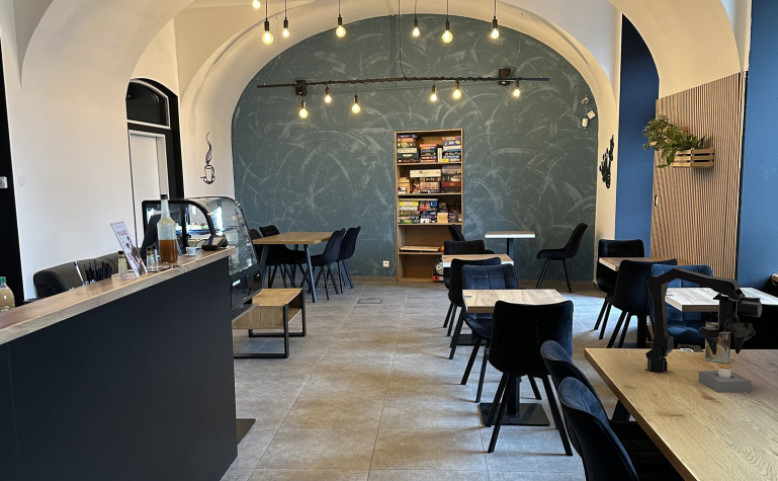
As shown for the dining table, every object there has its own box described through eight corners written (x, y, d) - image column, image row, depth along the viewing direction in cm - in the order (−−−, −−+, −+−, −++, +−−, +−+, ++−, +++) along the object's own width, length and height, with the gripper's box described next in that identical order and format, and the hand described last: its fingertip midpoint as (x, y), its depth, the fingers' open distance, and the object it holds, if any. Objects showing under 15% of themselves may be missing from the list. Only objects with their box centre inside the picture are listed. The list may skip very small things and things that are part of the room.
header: (718, 395, 201) (718, 381, 201) (698, 383, 213) (699, 371, 213) (750, 394, 202) (751, 380, 201) (729, 383, 213) (729, 370, 213)
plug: (722, 388, 205) (723, 366, 204) (715, 384, 209) (716, 363, 208) (732, 388, 205) (733, 366, 205) (725, 384, 209) (726, 363, 209)
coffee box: (728, 359, 242) (730, 323, 241) (729, 363, 237) (731, 326, 235) (704, 357, 247) (705, 321, 245) (704, 361, 241) (706, 324, 240)
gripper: (719, 318, 197) (718, 361, 199) (767, 316, 200) (765, 359, 201) (698, 312, 208) (697, 353, 210) (744, 310, 211) (742, 350, 212)
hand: (725, 354), depth 208 cm, fingers open, 9 cm apart
